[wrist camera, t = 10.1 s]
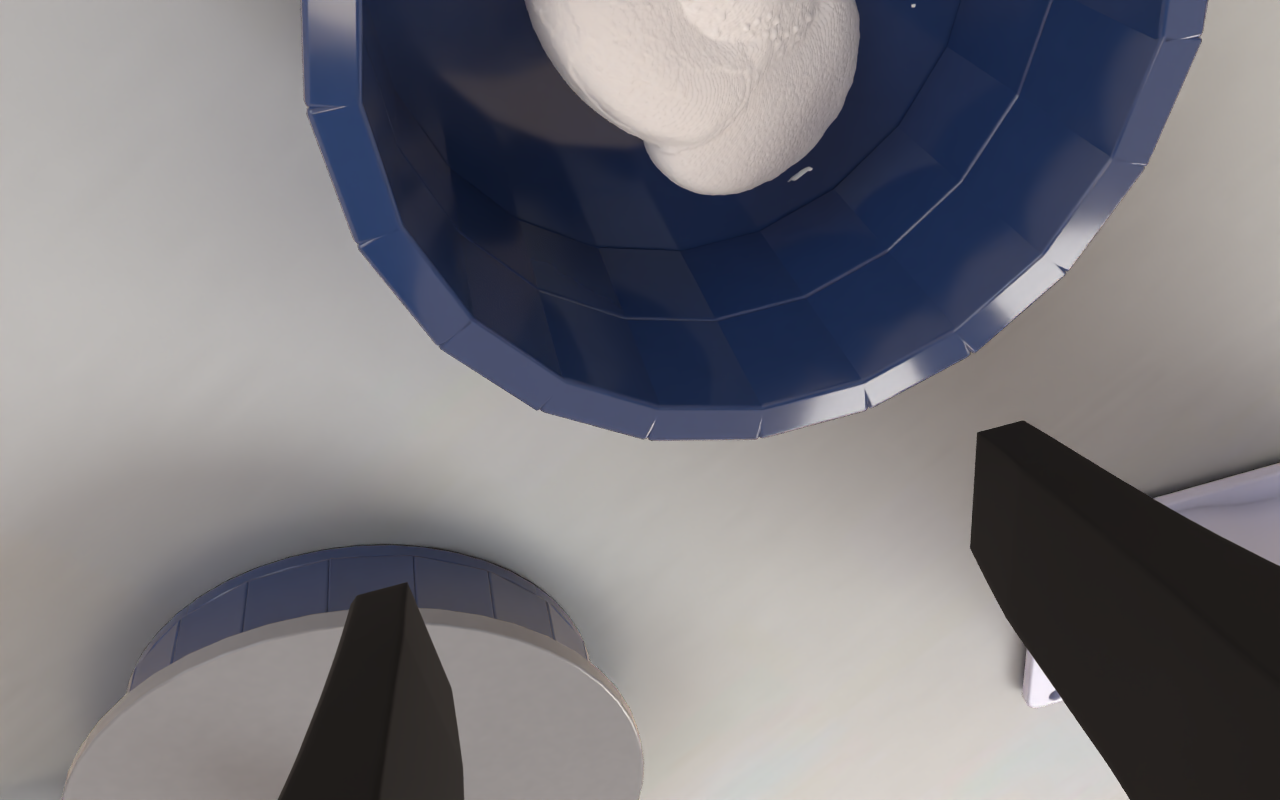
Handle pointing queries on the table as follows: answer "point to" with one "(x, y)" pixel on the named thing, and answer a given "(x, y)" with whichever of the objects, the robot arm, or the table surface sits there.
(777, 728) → the table surface
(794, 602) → the table surface
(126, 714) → the lid
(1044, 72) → the pot
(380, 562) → the pan
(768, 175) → the dumpling
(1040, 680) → the robot arm
